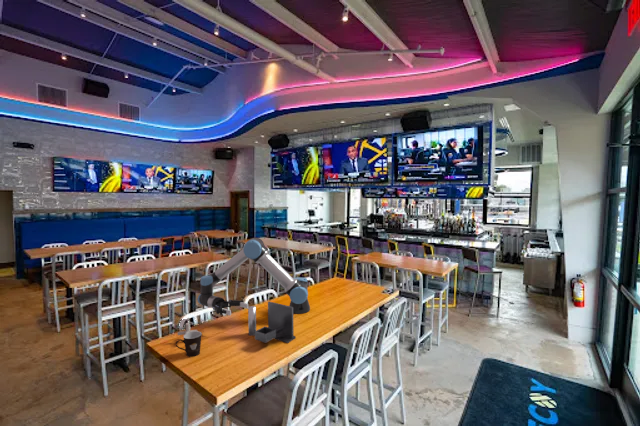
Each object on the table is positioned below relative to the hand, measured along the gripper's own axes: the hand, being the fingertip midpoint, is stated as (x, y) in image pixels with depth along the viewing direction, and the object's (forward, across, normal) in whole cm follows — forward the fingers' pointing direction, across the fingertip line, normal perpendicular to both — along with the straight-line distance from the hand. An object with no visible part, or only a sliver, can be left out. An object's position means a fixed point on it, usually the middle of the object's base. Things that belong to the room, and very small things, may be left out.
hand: (239, 309), depth 186 cm
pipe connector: (-14, +26, -13) cm, 32 cm away
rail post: (+10, 0, -13) cm, 16 cm away
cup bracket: (+26, 0, -12) cm, 29 cm away
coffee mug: (0, +34, -13) cm, 36 cm away
